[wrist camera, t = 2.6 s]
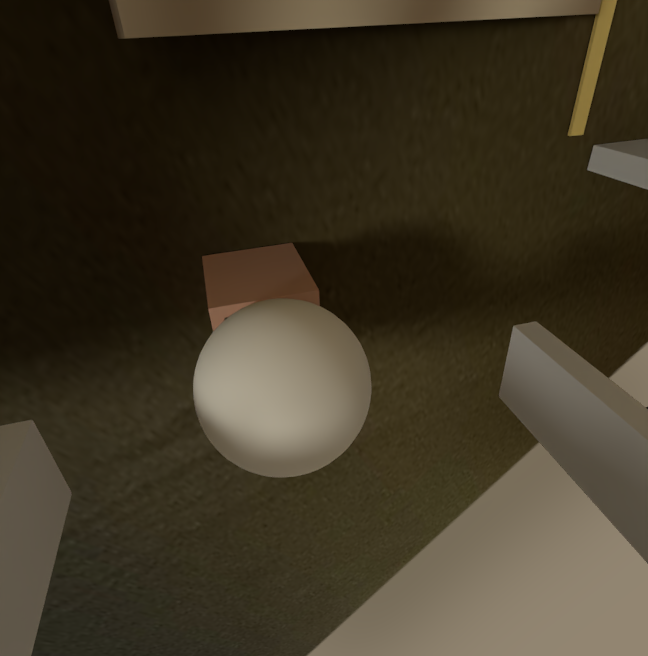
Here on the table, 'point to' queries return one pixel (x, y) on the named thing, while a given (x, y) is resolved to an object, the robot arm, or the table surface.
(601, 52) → the line
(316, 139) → the table surface
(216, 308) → the salmon pink box
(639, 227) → the table surface
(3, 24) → the table surface
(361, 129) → the table surface
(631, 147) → the fence
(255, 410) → the ball
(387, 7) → the ramp
